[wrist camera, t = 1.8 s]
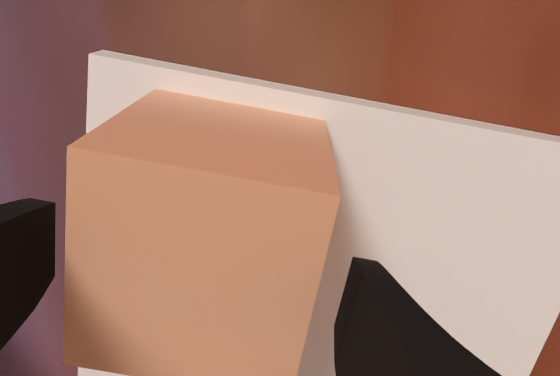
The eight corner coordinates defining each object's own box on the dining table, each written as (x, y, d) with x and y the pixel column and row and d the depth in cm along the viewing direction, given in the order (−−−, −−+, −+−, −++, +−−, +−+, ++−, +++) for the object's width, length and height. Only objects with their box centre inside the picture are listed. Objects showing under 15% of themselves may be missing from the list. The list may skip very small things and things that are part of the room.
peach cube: (142, 239, 18) (63, 364, 12) (155, 88, 16) (67, 146, 10) (292, 266, 18) (290, 402, 12) (325, 120, 16) (340, 196, 10)
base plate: (86, 418, 23) (75, 440, 22) (102, 50, 17) (88, 53, 15) (459, 480, 23) (467, 504, 22) (611, 146, 17) (633, 156, 16)
